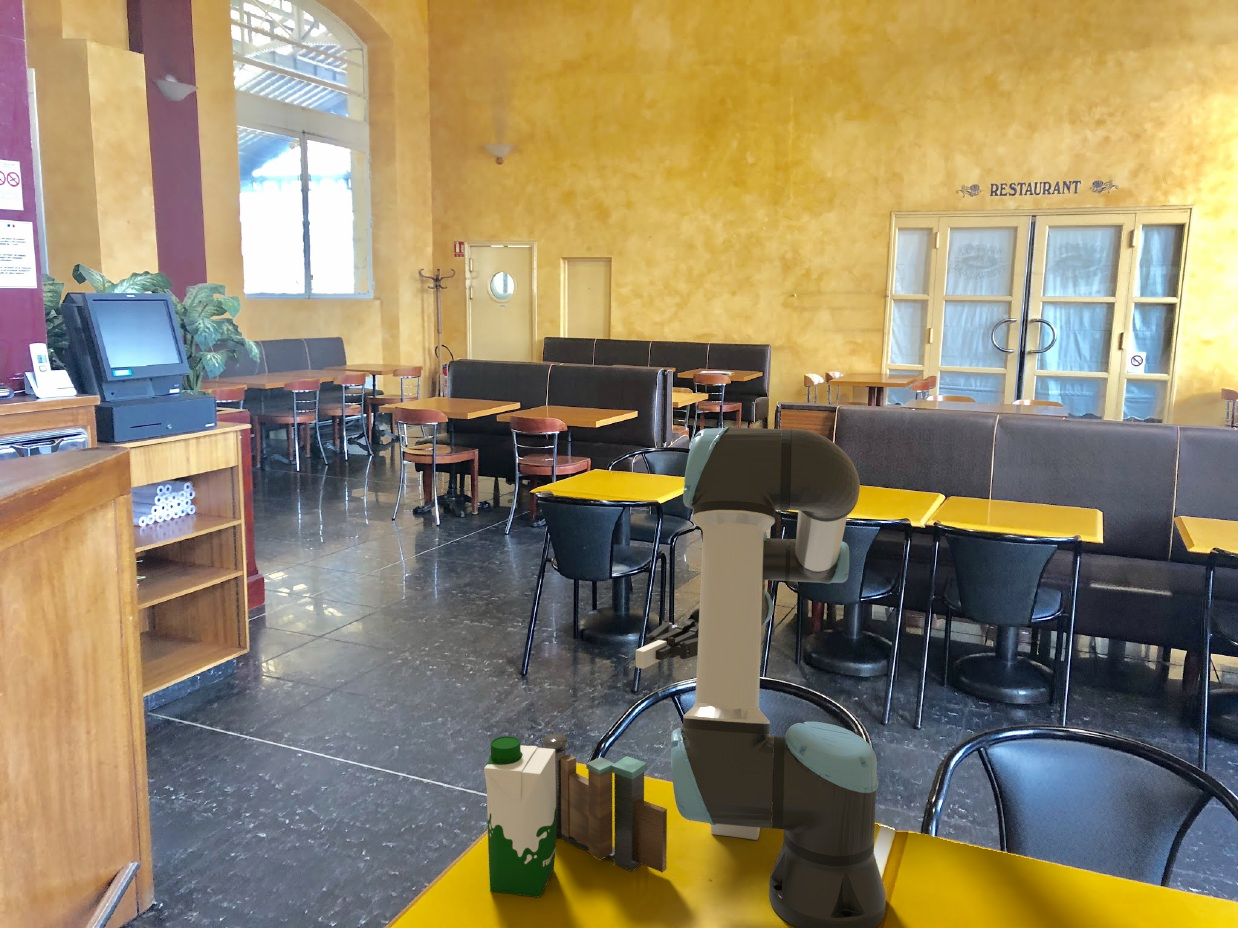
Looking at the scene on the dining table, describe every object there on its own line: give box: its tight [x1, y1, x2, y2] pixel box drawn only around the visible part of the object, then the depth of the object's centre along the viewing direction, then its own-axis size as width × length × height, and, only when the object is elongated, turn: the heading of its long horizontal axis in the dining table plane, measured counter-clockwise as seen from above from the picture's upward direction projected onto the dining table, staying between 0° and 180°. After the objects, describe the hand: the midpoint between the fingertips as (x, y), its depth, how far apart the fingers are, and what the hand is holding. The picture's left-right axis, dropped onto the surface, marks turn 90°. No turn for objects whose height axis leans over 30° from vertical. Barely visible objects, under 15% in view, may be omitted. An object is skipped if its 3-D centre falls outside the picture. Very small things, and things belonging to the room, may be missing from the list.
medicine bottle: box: [710, 824, 761, 841], centre depth 143 cm, size 7×7×12 cm
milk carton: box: [483, 735, 557, 898], centre depth 129 cm, size 9×9×20 cm
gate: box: [561, 753, 615, 860], centre depth 136 cm, size 9×3×14 cm, turn 43°
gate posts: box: [542, 733, 668, 873], centre depth 136 cm, size 21×4×15 cm, turn 54°
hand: (639, 659), depth 145 cm, fingers closed
